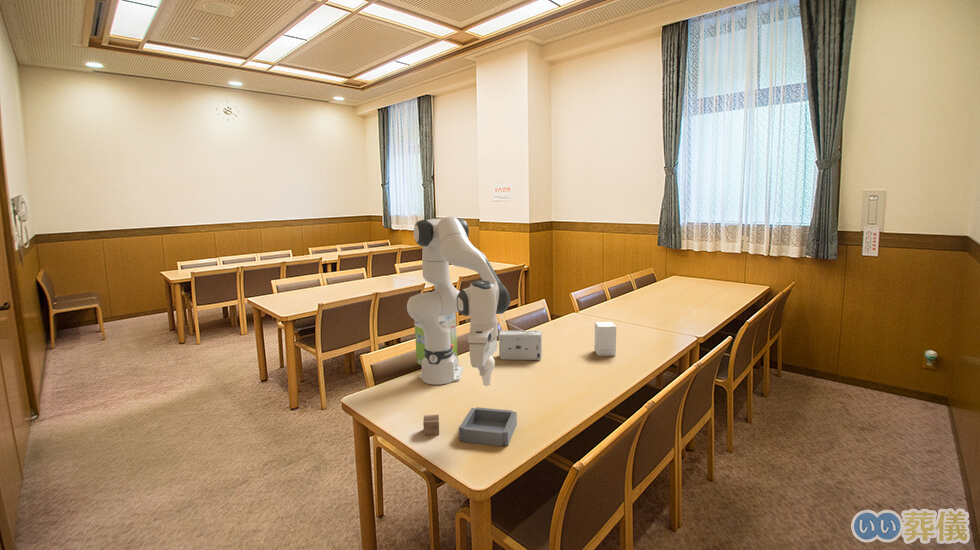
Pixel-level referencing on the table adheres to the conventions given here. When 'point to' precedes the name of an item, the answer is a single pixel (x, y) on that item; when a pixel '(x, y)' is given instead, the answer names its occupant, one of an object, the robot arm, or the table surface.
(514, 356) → the stereo radio cassette player
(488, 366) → the lightbulb
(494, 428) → the gray square tray
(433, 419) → the walnut block
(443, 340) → the robot arm
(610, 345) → the supplement box
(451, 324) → the toothbrush box
